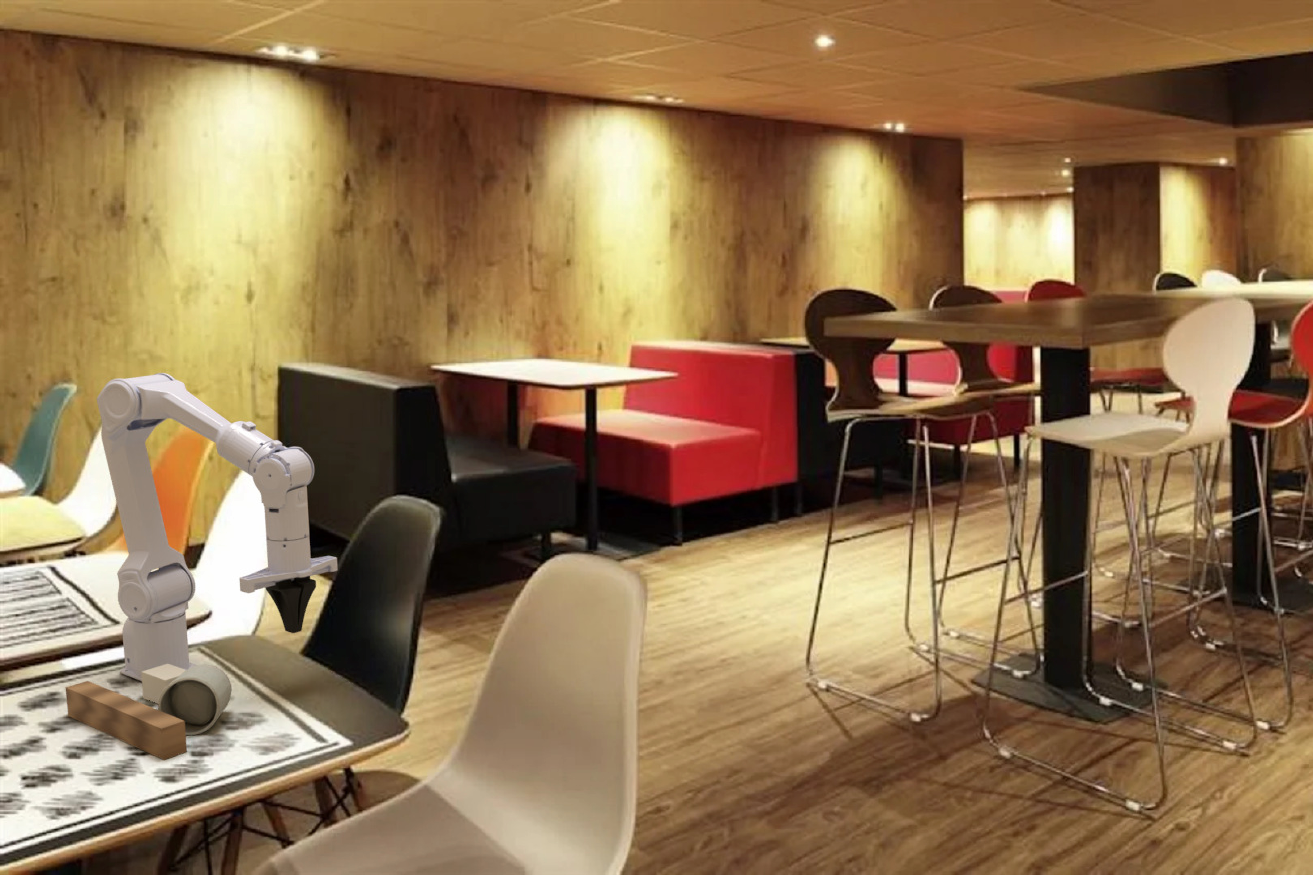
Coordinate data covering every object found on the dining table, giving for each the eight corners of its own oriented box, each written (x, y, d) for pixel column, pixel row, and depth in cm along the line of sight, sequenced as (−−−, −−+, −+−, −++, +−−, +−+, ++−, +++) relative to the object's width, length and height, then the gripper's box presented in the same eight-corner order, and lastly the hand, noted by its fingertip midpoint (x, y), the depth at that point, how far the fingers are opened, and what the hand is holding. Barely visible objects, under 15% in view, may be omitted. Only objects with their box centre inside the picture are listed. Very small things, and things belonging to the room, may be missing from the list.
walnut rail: (68, 715, 157) (65, 687, 156) (90, 709, 159) (87, 680, 158) (164, 760, 142) (161, 728, 142) (186, 751, 145) (184, 720, 144)
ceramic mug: (236, 710, 158) (231, 655, 157) (221, 734, 150) (216, 676, 149) (155, 716, 157) (149, 661, 156) (135, 740, 149) (129, 682, 148)
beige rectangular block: (143, 699, 163) (141, 671, 162) (169, 690, 166) (167, 663, 165) (167, 708, 159) (165, 680, 159) (194, 699, 163) (192, 671, 162)
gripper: (258, 551, 154) (264, 650, 156) (348, 530, 165) (353, 623, 167) (228, 543, 158) (234, 640, 160) (318, 524, 169) (323, 614, 171)
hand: (293, 630), depth 164 cm, fingers closed
